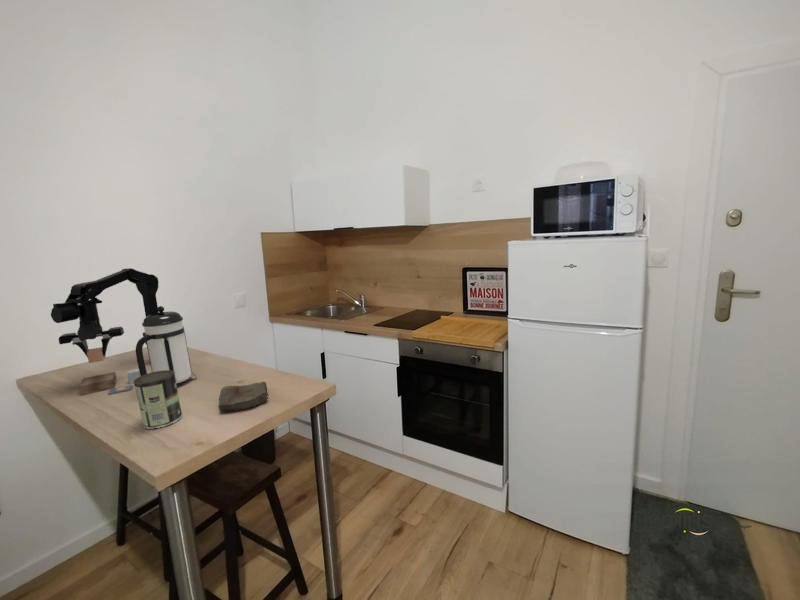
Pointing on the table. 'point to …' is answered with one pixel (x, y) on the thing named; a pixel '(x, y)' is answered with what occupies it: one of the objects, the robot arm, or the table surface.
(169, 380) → the coffee can
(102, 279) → the robot arm
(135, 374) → the grey cube
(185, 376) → the coffee press
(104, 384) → the walnut block
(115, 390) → the card
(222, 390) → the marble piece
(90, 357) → the terracotta cube
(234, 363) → the table surface
